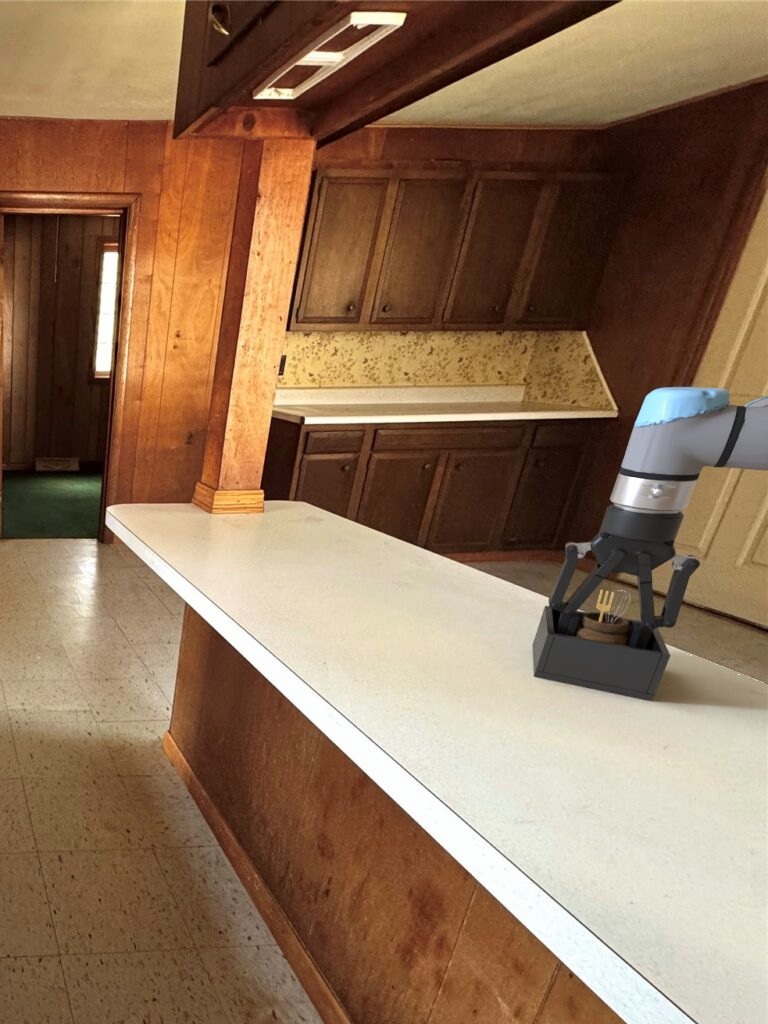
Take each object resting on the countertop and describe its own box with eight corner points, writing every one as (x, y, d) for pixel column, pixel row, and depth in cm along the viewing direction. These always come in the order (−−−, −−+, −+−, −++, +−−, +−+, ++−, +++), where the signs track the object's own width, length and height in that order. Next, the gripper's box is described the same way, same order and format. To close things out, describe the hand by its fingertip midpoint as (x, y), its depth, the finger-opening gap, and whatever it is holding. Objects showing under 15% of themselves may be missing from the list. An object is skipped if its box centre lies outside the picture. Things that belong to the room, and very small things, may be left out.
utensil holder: (625, 664, 97) (654, 588, 92) (606, 675, 94) (635, 597, 90) (575, 649, 102) (600, 576, 97) (555, 659, 99) (581, 584, 94)
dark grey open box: (639, 665, 99) (656, 623, 97) (652, 701, 90) (670, 655, 88) (532, 645, 107) (545, 605, 104) (533, 676, 97) (547, 633, 95)
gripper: (555, 504, 92) (510, 653, 100) (757, 523, 81) (686, 688, 89) (553, 494, 97) (510, 636, 106) (741, 510, 86) (677, 666, 95)
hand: (591, 659), depth 98 cm, fingers closed on utensil holder, 6 cm apart
